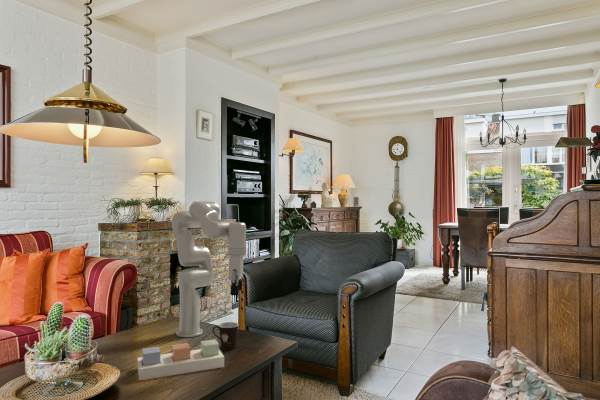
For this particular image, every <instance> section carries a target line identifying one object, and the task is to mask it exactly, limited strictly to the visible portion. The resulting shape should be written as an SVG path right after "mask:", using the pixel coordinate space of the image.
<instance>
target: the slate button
mask: <svg viewBox="0 0 600 400" xmlns="http://www.w3.org/2000/svg"><path fill="white" fill-rule="evenodd" d="M141 354H142V355H141V357H142V364H143V366H146V365H153V364H159V363H160V355H161V349H160V346H153V347H147V348H146V347H145V348H142V349H141Z"/></svg>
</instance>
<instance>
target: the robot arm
mask: <svg viewBox="0 0 600 400" xmlns="http://www.w3.org/2000/svg"><path fill="white" fill-rule="evenodd" d="M220 213H221V209H220V206H219V205H218V203H216V202H215V201H194V202H193V203H191V204H190V205H189V208H188V210H185V211H184V210H183V211H177V212H175V213H174V214H173V215H172V218H171V228H172V232H173V234H174V238H175V241H176V249H177V257H178V262H179V264H180V266H183V267H192V268H186V269H183V270H181V271H180V272H179V273H178V275H177V281H178V287H179V289H178V290H179V329H177V330H176V331H175V335H176V337H177V336H178V337H180V338H193V337H198V336H201V335H202V334H203V333H204V331H203V329H202V328H200V323H201V322H200V321H201V320H200V319H201V317H200V315H201V313H200V312H201V310H200V309H201V297H200V294H199V293H198V291H197V290H196V289H197V288H203V287H208V286H211V285H212V284H213V282H214V279H215V278H214V277H215V276H214V268H213V260H212V255H211V254H212V253H211V251H210V249H209V248H208V247H207V246H205V245H195V238H194V236H193V234H192V233H191V231H190V230H188V229H199V228H200V230H201V232H202V234H204V235H205V236H206V237H208V238H209V239H211V240H223V239H225V240H226V239H227V256H229V259H228V278H227V279H228V280H229V281H230V295H231V296H239V291H243V277H244V257H245V256H246V255H247V225H246V223H245V222H242V221H241V222H239V221H238V222H237V221H230V220H228V221H226V220H225V221H219V218H220ZM194 266H199V267H194Z"/></svg>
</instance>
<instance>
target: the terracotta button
mask: <svg viewBox="0 0 600 400" xmlns="http://www.w3.org/2000/svg"><path fill="white" fill-rule="evenodd" d="M191 349H192V348H191V346H190V344H189V343H188V342H184V343H177V344H172V345H171V353H172V359H173V361H180V360H187V359H190V351H191Z"/></svg>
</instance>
